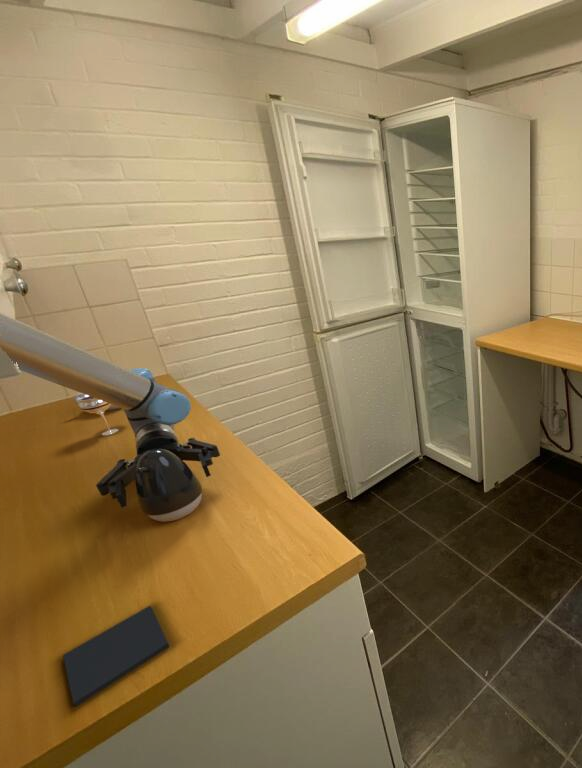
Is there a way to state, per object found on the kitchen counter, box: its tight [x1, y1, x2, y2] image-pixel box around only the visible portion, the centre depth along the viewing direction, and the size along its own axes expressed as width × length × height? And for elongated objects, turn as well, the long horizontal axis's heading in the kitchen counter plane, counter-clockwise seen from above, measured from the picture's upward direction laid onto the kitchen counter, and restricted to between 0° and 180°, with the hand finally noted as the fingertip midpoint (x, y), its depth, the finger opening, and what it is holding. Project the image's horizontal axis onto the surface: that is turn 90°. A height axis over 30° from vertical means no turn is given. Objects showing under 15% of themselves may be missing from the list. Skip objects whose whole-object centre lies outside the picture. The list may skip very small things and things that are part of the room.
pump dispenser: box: [134, 449, 204, 523], centre depth 84 cm, size 10×10×15 cm
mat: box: [62, 605, 170, 708], centre depth 60 cm, size 10×10×1 cm
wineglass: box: [76, 394, 119, 436], centre depth 118 cm, size 7×7×12 cm
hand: (166, 485), depth 83 cm, fingers open, 13 cm apart
